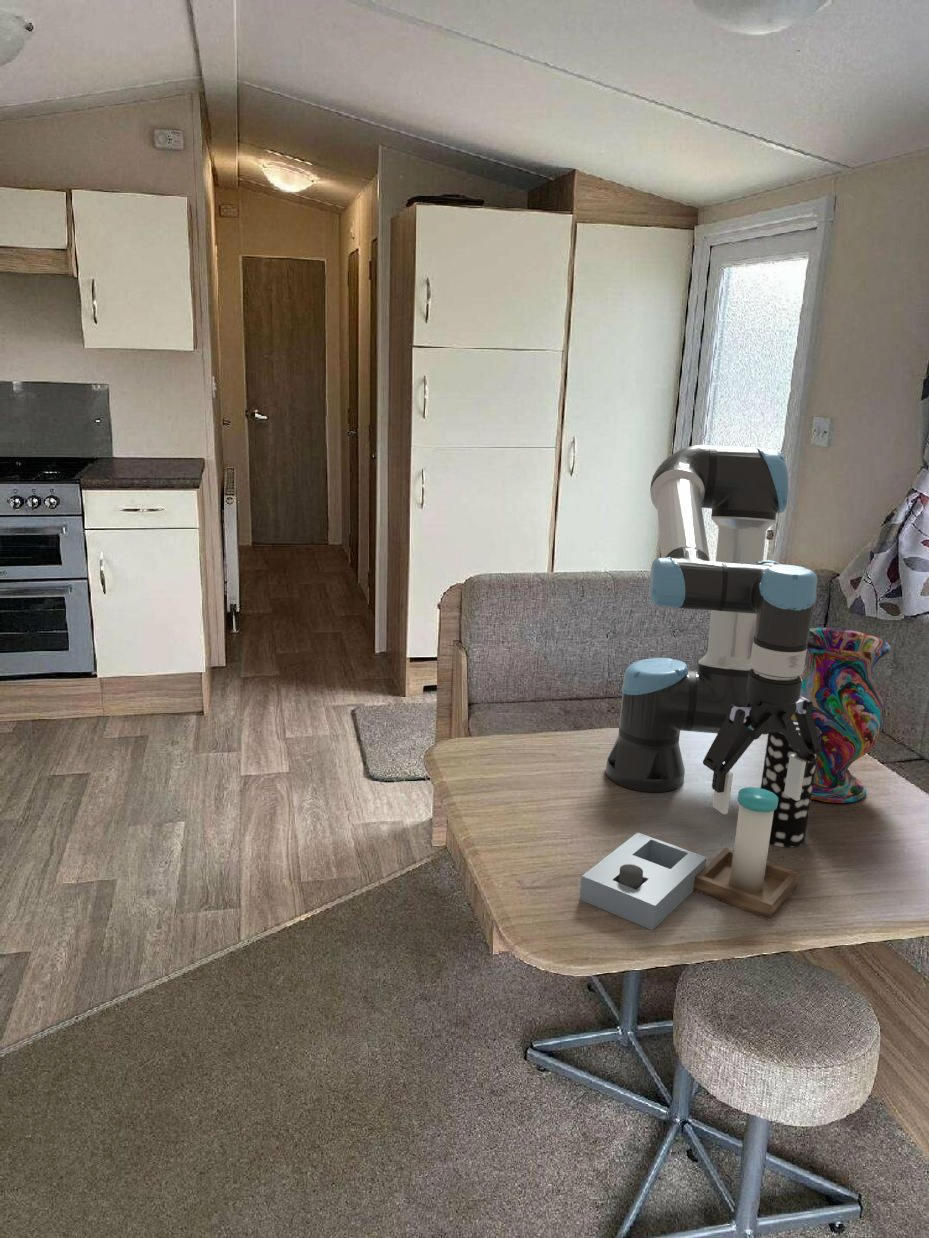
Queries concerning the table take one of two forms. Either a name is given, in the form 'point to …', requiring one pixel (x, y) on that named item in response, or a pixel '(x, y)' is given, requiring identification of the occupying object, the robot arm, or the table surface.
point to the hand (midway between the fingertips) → (756, 803)
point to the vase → (842, 706)
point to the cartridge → (752, 839)
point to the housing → (643, 880)
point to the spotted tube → (789, 812)
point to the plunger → (631, 876)
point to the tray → (762, 904)
